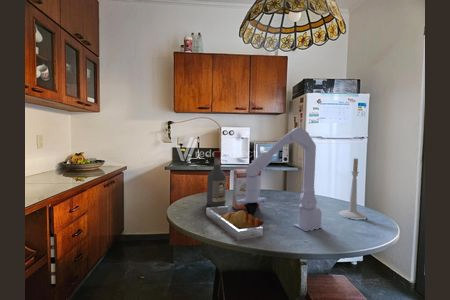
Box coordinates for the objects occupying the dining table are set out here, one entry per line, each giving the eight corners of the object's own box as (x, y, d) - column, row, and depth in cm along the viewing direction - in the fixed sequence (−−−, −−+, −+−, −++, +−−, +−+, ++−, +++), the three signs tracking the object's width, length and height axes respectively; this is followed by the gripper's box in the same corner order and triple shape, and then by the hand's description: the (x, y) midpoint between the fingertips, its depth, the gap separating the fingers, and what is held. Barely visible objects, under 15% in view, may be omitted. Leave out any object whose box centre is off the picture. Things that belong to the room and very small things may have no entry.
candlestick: (352, 211, 142) (356, 156, 140) (372, 219, 130) (376, 159, 128) (333, 213, 139) (336, 156, 137) (351, 221, 126) (355, 159, 124)
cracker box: (235, 209, 140) (236, 170, 138) (232, 206, 145) (233, 169, 144) (259, 208, 143) (261, 170, 142) (255, 205, 149) (257, 168, 148)
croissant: (215, 231, 118) (212, 218, 114) (221, 215, 126) (219, 202, 122) (262, 237, 112) (261, 223, 108) (265, 219, 120) (264, 206, 116)
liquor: (204, 203, 150) (206, 151, 148) (218, 201, 155) (219, 150, 153) (214, 207, 142) (215, 152, 140) (227, 205, 148) (229, 152, 146)
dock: (226, 212, 134) (226, 205, 134) (262, 236, 105) (262, 227, 104) (206, 214, 130) (206, 207, 129) (238, 240, 100) (238, 231, 100)
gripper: (260, 186, 127) (259, 214, 128) (233, 188, 121) (232, 217, 122) (269, 189, 121) (267, 219, 122) (241, 192, 115) (240, 222, 115)
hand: (250, 218), depth 121 cm, fingers closed
